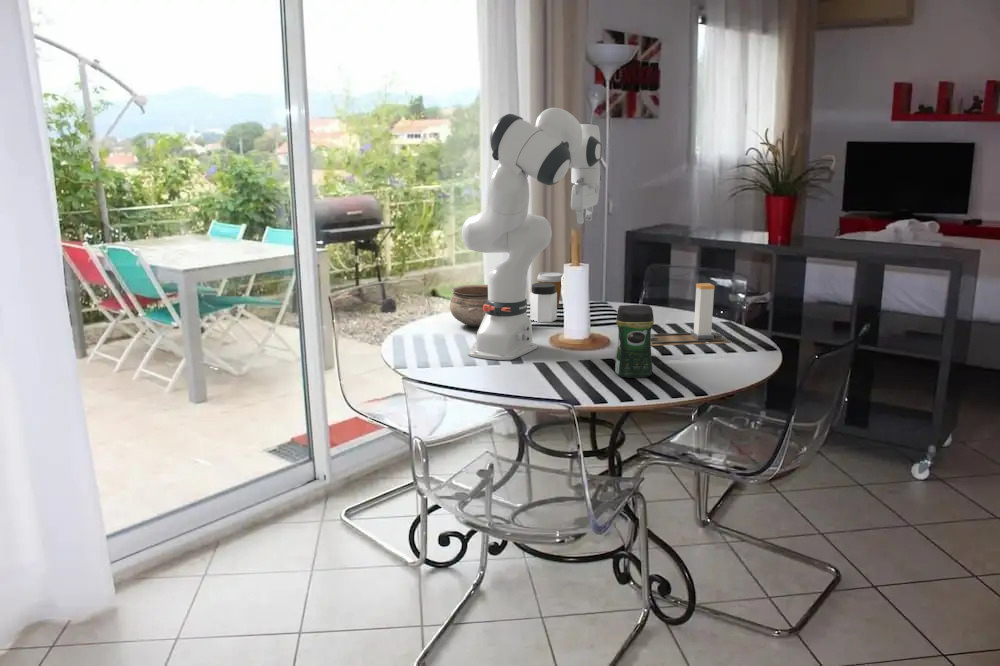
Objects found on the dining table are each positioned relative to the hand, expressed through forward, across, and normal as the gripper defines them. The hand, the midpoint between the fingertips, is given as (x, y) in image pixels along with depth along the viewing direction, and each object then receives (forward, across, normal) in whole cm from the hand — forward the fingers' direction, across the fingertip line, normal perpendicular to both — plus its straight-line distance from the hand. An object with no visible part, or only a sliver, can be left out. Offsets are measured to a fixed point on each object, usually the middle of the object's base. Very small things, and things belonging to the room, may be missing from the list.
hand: (584, 222), depth 253 cm
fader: (+33, -5, -39) cm, 51 cm away
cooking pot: (+34, -10, +32) cm, 48 cm away
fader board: (+34, -8, -33) cm, 48 cm away
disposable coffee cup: (+34, +26, +19) cm, 47 cm away
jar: (+34, +6, +15) cm, 38 cm away
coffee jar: (+34, -45, -26) cm, 62 cm away
